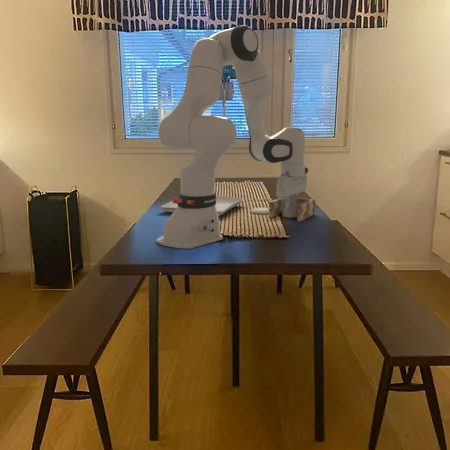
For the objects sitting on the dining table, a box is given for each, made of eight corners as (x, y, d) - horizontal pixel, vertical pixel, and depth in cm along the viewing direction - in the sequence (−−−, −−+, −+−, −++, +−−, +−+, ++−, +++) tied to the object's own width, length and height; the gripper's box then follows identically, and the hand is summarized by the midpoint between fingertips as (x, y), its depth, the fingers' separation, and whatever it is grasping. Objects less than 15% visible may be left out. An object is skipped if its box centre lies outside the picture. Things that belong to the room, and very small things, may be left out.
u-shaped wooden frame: (299, 221, 173) (300, 205, 171) (268, 217, 180) (269, 202, 178) (314, 214, 184) (314, 199, 183) (284, 210, 191) (285, 196, 190)
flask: (299, 219, 177) (300, 193, 175) (280, 218, 178) (281, 192, 176) (300, 214, 184) (301, 189, 181) (282, 214, 185) (282, 189, 183)
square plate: (188, 201, 211) (187, 193, 210) (245, 206, 201) (245, 197, 200) (159, 214, 186) (158, 205, 185) (222, 220, 177) (222, 210, 176)
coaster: (267, 215, 182) (267, 214, 182) (245, 212, 187) (245, 211, 187) (279, 210, 190) (279, 209, 190) (257, 208, 195) (257, 206, 195)
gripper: (288, 174, 167) (286, 211, 170) (310, 168, 183) (308, 202, 187) (272, 173, 170) (271, 209, 173) (295, 167, 186) (294, 200, 190)
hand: (291, 206), depth 180 cm, fingers open, 3 cm apart
